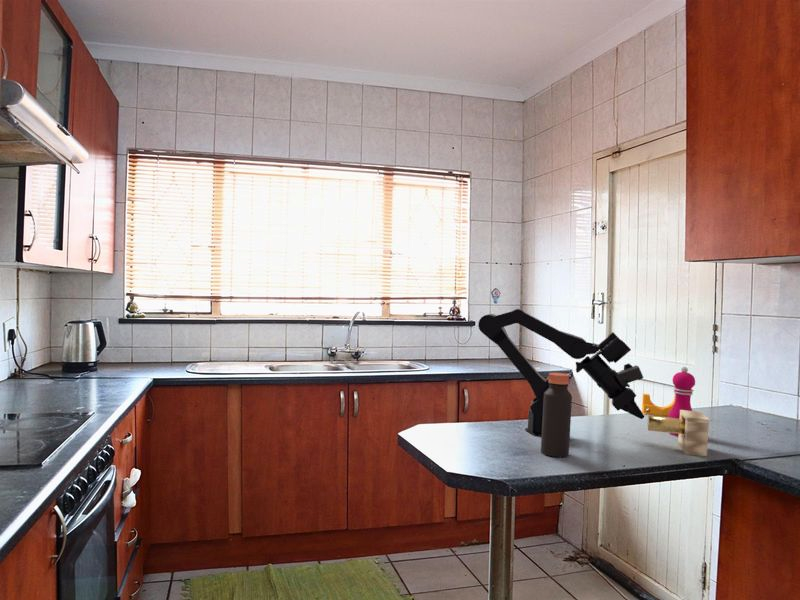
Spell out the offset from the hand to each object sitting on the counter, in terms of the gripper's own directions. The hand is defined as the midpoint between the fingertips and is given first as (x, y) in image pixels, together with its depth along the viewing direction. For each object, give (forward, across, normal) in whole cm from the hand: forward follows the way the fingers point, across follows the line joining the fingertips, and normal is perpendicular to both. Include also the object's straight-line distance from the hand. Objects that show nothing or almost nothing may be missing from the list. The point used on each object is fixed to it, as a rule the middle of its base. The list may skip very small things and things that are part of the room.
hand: (643, 417), depth 156 cm
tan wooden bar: (+8, 0, -3) cm, 9 cm away
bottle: (-11, -20, +21) cm, 31 cm away
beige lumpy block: (+14, 0, -4) cm, 14 cm away
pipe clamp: (+14, +45, -3) cm, 47 cm away
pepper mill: (+14, +17, -4) cm, 23 cm away
